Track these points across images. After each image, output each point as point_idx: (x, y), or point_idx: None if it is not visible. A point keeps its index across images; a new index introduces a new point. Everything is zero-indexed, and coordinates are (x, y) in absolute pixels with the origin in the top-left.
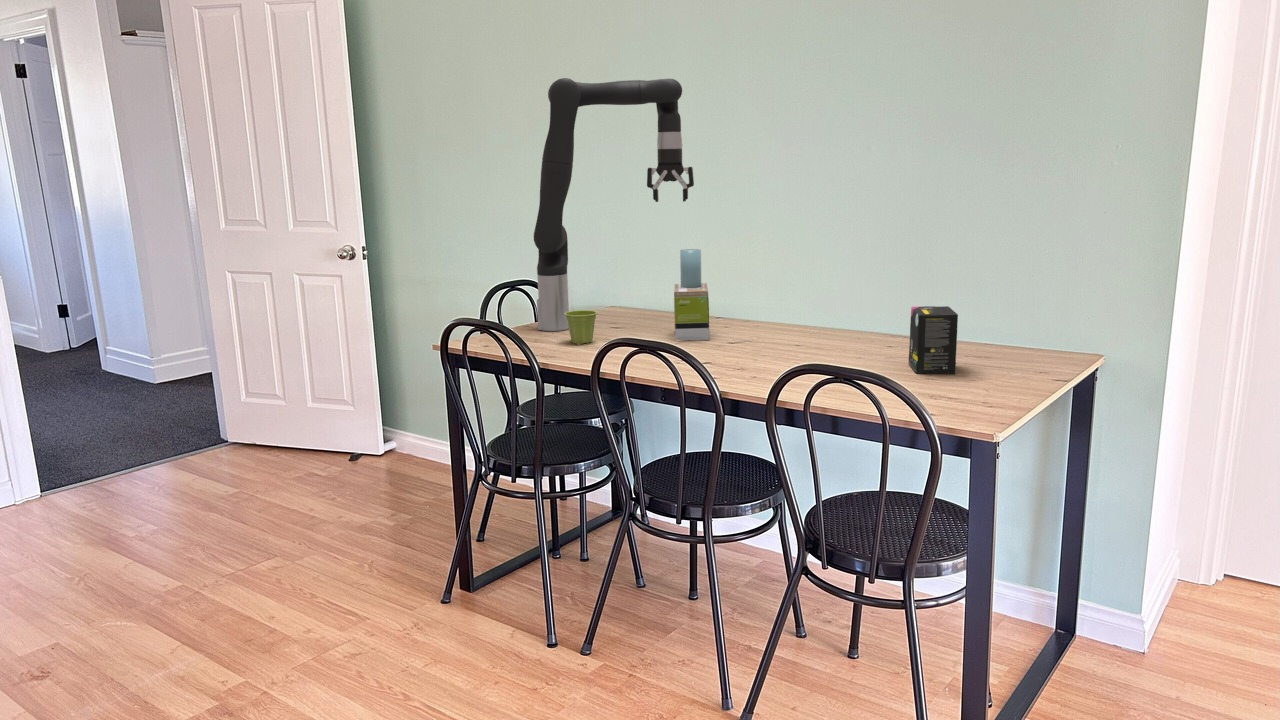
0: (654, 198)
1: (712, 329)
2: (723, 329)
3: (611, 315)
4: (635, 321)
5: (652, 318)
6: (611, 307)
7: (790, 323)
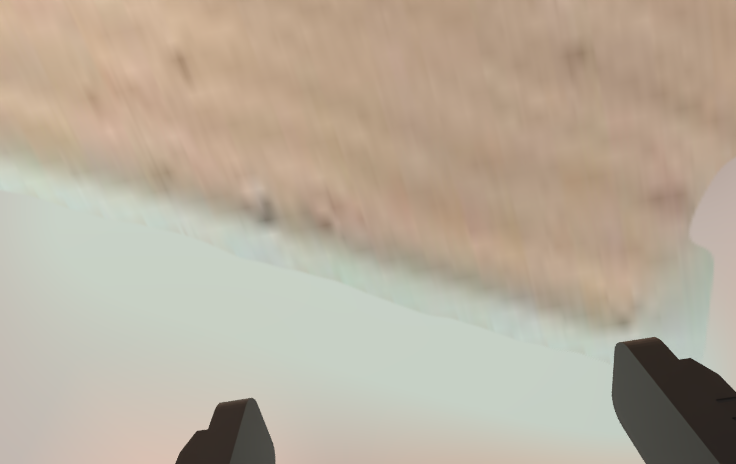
0: (695, 376)
1: (209, 12)
2: (174, 21)
3: (605, 192)
4: (507, 106)
5: (463, 168)
6: (624, 309)
7: (21, 168)
